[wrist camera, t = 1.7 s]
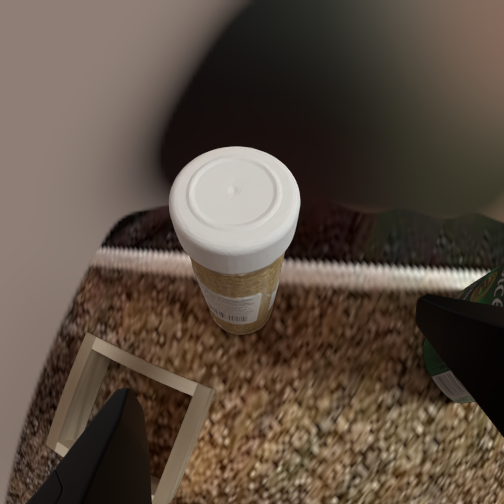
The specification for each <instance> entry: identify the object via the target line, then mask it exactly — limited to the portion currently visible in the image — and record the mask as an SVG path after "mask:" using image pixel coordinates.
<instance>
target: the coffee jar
mask: <svg viewBox="0 0 504 504" xmlns="http://www.w3.org/2000/svg"><path fill="white" fill-rule="evenodd" d="M454 298H455V299H461V300H467V301H472V302H478V303H484V304H490V305H496V306H502V307H504V263H503V264H501V265H500V266H498V267H497V268H495V269H494V270H492V271H491V272H489V273H488V274H486V275H485V276H483V277H482V278H480V279H479V280H477V281H475V282H474V283H472V284H471V285H469V286H468V287H466V288H465V289H463V290H462V291H461V292H460V293H459V294H458V295H457V296H455V297H454ZM423 359H424V363H425V366H426V369H427V371H428V373H429V375H430V376H431V378H432V380H433V381H434V383H435V384H436V386H437V387H438V388H439V389H440V390H441V391H442V392H443V393H444V394H445V395H446V396H447V397H448V398H449V399H451V400H452V401H454V402H457V403H470V402H476V401H475V400H474V399H473V397H472V396H471V395H470V394H469V393H468V391H467V390H466V389H465V388H464V386H463V385H462V384H461V383H460V382H459V380H458V379H457V378H456V377H455V376H454V374H453V373H452V372H451V371H450V370H449V369H448V367H447V366H446V365H445V364H444V363H443V361H442V360H441V359H440V358H439V356H438V355H437V353H436V352H435V351H434V349H433V348H432V346H431V345H430V343H429V342H428V341H427V339H426V338H425V341H424V345H423Z"/></svg>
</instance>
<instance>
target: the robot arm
mask: <svg viewBox="0 0 504 504" xmlns="http://www.w3.org/2000/svg"><path fill="white" fill-rule="evenodd" d="M416 324H417V326H418V328H419V329H420V331H421V332H422V333H423V335H424V336H425V338H426V339H427V341H428V342H429V343H430V345H431V346H432V348H433V349H434V351H435V352H436V353H437V355H438V356H439V358H440V359H441V360H442V361H443V363H444V364H445V365H446V366H447V367H448V369H449V370H450V371H451V372H452V373H453V374H454V376H455V377H456V378H457V379H458V380H459V382H460V383H461V384H462V385H463V386H464V388H465V389H466V390H467V391H468V393H469V394H470V395H471V396H472V397H473V399H474V400H475V401H476V402H477V404H478V405H479V406H480V407H481V409H482V410H483V411H484V413H485V414H486V415H487V416H488V418H489V419H490V420H491V421H492V423H493V424H494V425H495V427H496V428H497V429H498V431H499V432H500V433H501V435H502V436H503V437H504V307H502V306H496V305H490V304H484V303H478V302H472V301H467V300H461V299H455V298H449V297H444V296H438V295H432V294H426V295H424V296H422V297H420V298H418V300H417V306H416ZM26 504H152V493H151V472H150V455H149V448H148V441H147V434H146V426H145V418H144V412H143V409H142V406H141V405H140V403H139V401H138V399H137V398H136V396H135V394H134V392H133V391H132V390H131V388H122V389H117V390H116V391H115V392H114V393H113V395H112V396H111V397H110V398H109V400H108V401H107V402H106V403H105V405H104V406H103V407H102V409H101V410H100V411H99V412H98V414H97V415H96V416H95V417H94V419H93V420H92V421H91V423H90V424H89V425H88V426H87V428H86V429H85V430H84V431H83V433H82V434H81V435H80V437H79V438H78V439H77V440H76V442H75V443H74V444H73V446H72V447H71V448H70V450H69V451H68V452H67V453H66V455H65V456H64V457H63V459H62V460H61V461H60V462H59V464H58V465H57V466H56V470H53V471H52V473H51V474H50V475H49V477H48V478H47V479H46V481H45V482H44V483H43V484H42V486H41V487H40V488H39V489H38V490H37V492H36V493H35V494H34V495H33V496H32V497H31V498H30V499H29V501H28V502H27V503H26Z"/></svg>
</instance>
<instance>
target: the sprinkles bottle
mask: <svg viewBox="0 0 504 504" xmlns="http://www.w3.org/2000/svg"><path fill="white" fill-rule="evenodd" d="M299 209H300V194H299V190H298V186H297V183H296V181H295V179H294V177H293V175H292V174H291V172H290V171H289V170H288V169H287V167H286V166H285V165H284V164H283V163H281V162H280V161H279V160H278V159H276V158H274V157H273V156H271V155H269V154H267V153H265V152H262V151H259V150H257V149H252V148H247V147H227V148H220V149H215V150H212V151H209V152H207V153H204V154H202V155H200V156H198V157H197V158H195V159H194V160H192V161H191V162H190V163H189V164H187V165H186V166H185V167H184V168H183V169H182V170H181V172H180V173H179V175H178V176H177V177H176V179H175V181H174V183H173V185H172V188H171V192H170V196H169V210H170V215H171V219H172V222H173V225H174V228H175V231H176V234H177V236H178V239H179V241H180V243H181V245H182V247H183V249H184V250H185V251H186V253H187V254H188V255H189V256H190V259H191V261H192V267H193V270H194V273H195V276H196V278H197V281H198V283H199V286H200V288H201V291H202V293H203V295H204V298H205V300H206V302H207V304H208V306H209V311H210V314H211V317H212V318H213V320H214V322H215V323H216V324H217V325H218V326H219V327H221V329H223V330H225V331H227V332H228V333H231V334H237V335H244V334H249V333H253V332H255V331H257V330H259V329H261V328H262V327H263V326H264V325H265V324H266V322H267V321H268V320H269V318H270V315H271V313H272V310H273V302H274V299H275V296H276V292H277V288H278V284H279V277H280V271H281V266H282V262H283V258H284V254H285V250H286V249H287V248H288V246H289V244H290V243H291V241H292V238H293V236H294V232H295V229H296V224H297V219H298V214H299Z"/></svg>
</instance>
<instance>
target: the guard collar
mask: <svg viewBox="0 0 504 504" xmlns="http://www.w3.org/2000/svg"><path fill="white" fill-rule="evenodd" d="M111 359H112V360H114V361H116V362H118V363H120V364H122V365H124V366H126V367H128V368H130V369H132V370H134V371H136V372H139V373H141V374H143V375H145V376H147V377H149V378H151V379H154V380H156V381H158V382H160V383H163V384H165V385H167V386H170V387H172V388H174V389H177V390H179V391H181V392H184V393H186V394H189V395H191V396H193V397H192V399H191V402H190V404H189V407H188V410H187V412H186V415H185V417H184V420H183V423H182V425H181V428H180V430H179V433H178V436H177V438H176V441H175V443H174V446H173V448H172V451H171V454H170V456H169V459H168V461H167V464H166V467H165V469H164V472H163V474H162V477H161V480H160V479H158V478H156V477H154V476H152V475H151V493H152V504H169V503H170V502H171V500H172V499H173V498H174V497H175V495H176V492H177V490H178V487H179V485H180V482H181V480H182V477H183V475H184V472H185V469H186V467H187V464H188V462H189V459H190V457H191V454H192V452H193V449H194V446H195V444H196V441H197V439H198V436H199V434H200V431H201V428H202V426H203V423H204V421H205V418H206V415H207V413H208V410H209V408H210V405H211V402H212V400H213V397H214V395H215V392H216V390H215V389H213V388H210V387H207V386H205V385H202V384H200V383H197V382H194V381H192V380H189V379H187V378H184V377H182V376H180V375H177V374H175V373H172V372H170V371H168V370H165V369H163V368H161V367H159V366H156V365H154V364H152V363H150V362H147V361H145V360H143V359H141V358H139V357H137V356H135V355H132V354H130V353H128V352H126V351H124V350H122V349H120V348H118V347H116V346H114V345H112V344H110V343H108V342H106V341H104V340H102V339H100V338H98V337H96V336H94V335H92V334H90V333H88V332H87V333H86V335H85V337H84V340H83V342H82V344H81V347H80V349H79V352H78V354H77V357H76V359H75V361H74V364H73V367H72V369H71V372H70V374H69V377H68V380H67V382H66V385H65V388H64V390H63V393H62V396H61V399H60V401H59V404H58V407H57V410H56V413H55V416H54V419H53V422H52V425H51V428H50V431H49V435H48V438H47V441H46V445H47V446H48V447H50V448H51V449H52V450H54V451H55V452H57V453H58V454H60V455H61V456H62V457H64V456H65V455H66V453H67V452H68V451H69V450H70V448H71V447H72V446H73V444H74V443H75V442H76V440H77V439H78V438H79V437H80V435H81V434H82V433H83V431H84V430H85V427H86V424H87V421H88V418H89V416H90V413H91V410H92V407H93V405H94V402H95V399H96V397H97V394H98V391H99V389H100V386H101V384H102V381H103V379H104V376H105V374H106V371H107V369H108V366H109V364H110V361H111Z"/></svg>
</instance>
